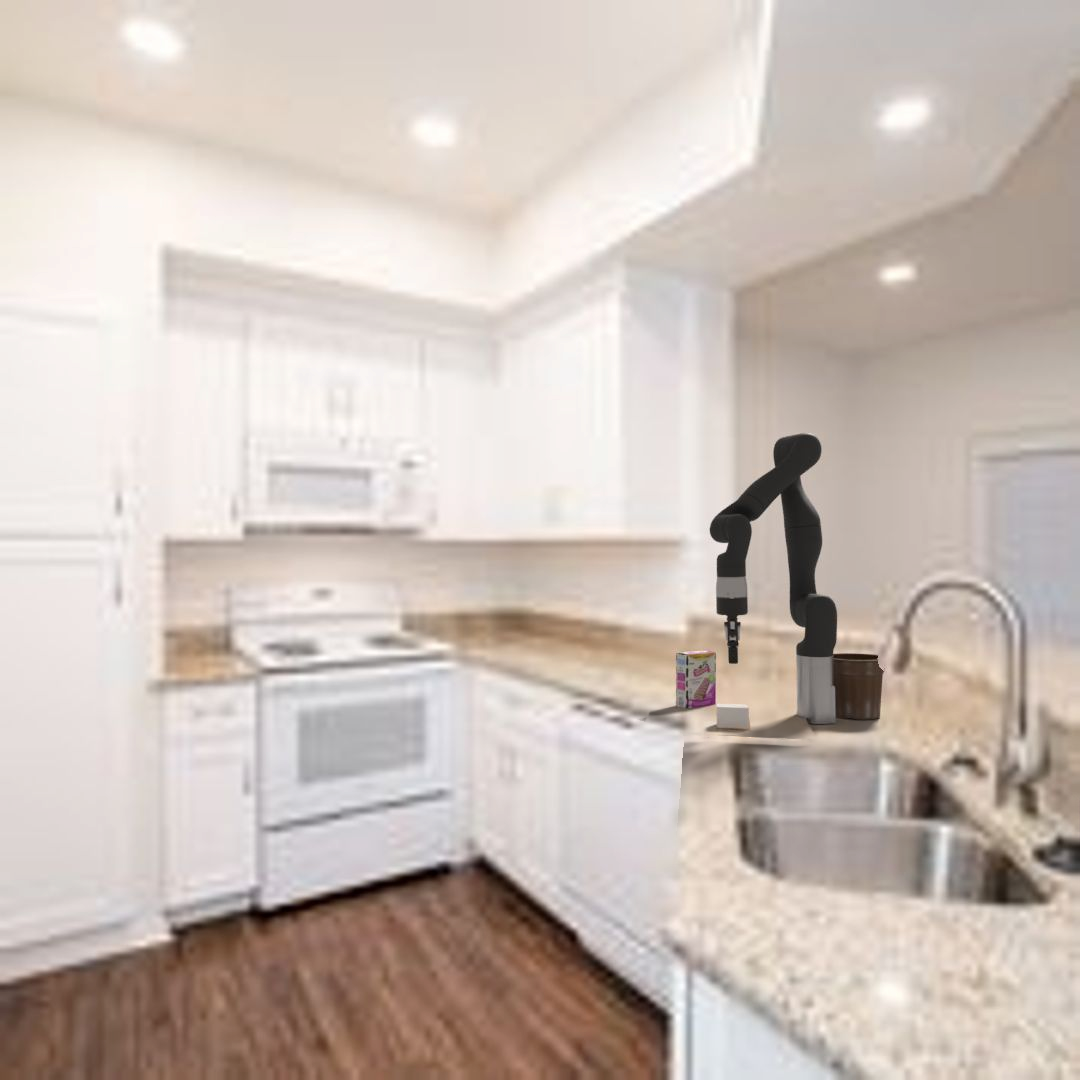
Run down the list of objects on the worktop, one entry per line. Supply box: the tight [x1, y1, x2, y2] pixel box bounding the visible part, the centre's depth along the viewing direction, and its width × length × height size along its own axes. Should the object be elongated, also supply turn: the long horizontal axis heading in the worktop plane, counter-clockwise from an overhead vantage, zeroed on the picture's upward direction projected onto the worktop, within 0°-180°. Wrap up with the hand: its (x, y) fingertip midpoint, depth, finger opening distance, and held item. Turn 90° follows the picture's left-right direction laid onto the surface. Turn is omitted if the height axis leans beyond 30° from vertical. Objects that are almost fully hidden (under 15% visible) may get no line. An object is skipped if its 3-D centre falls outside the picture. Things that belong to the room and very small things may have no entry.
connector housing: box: [716, 703, 750, 729], centre depth 198 cm, size 8×4×5 cm, turn 77°
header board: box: [716, 719, 752, 732], centre depth 203 cm, size 8×20×2 cm, turn 167°
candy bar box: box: [675, 650, 717, 709], centre depth 226 cm, size 11×5×16 cm, turn 122°
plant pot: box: [833, 652, 885, 721], centre depth 217 cm, size 16×16×16 cm
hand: (733, 661), depth 198 cm, fingers open, 8 cm apart
